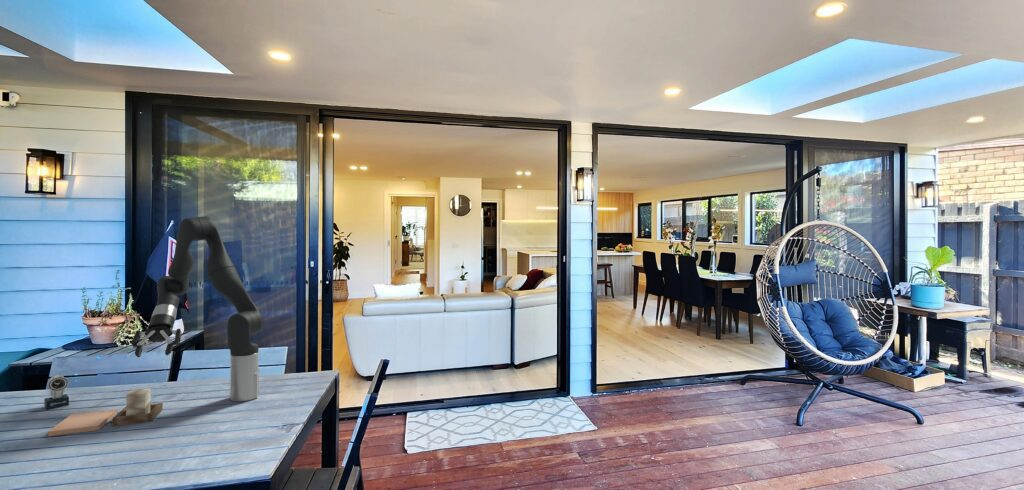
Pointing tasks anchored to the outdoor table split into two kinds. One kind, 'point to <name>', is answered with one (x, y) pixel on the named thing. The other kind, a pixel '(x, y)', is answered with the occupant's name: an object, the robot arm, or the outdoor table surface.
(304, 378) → the outdoor table surface
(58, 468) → the outdoor table surface
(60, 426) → the terracotta tile
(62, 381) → the watch
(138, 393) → the ash block
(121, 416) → the walnut pocket frame
